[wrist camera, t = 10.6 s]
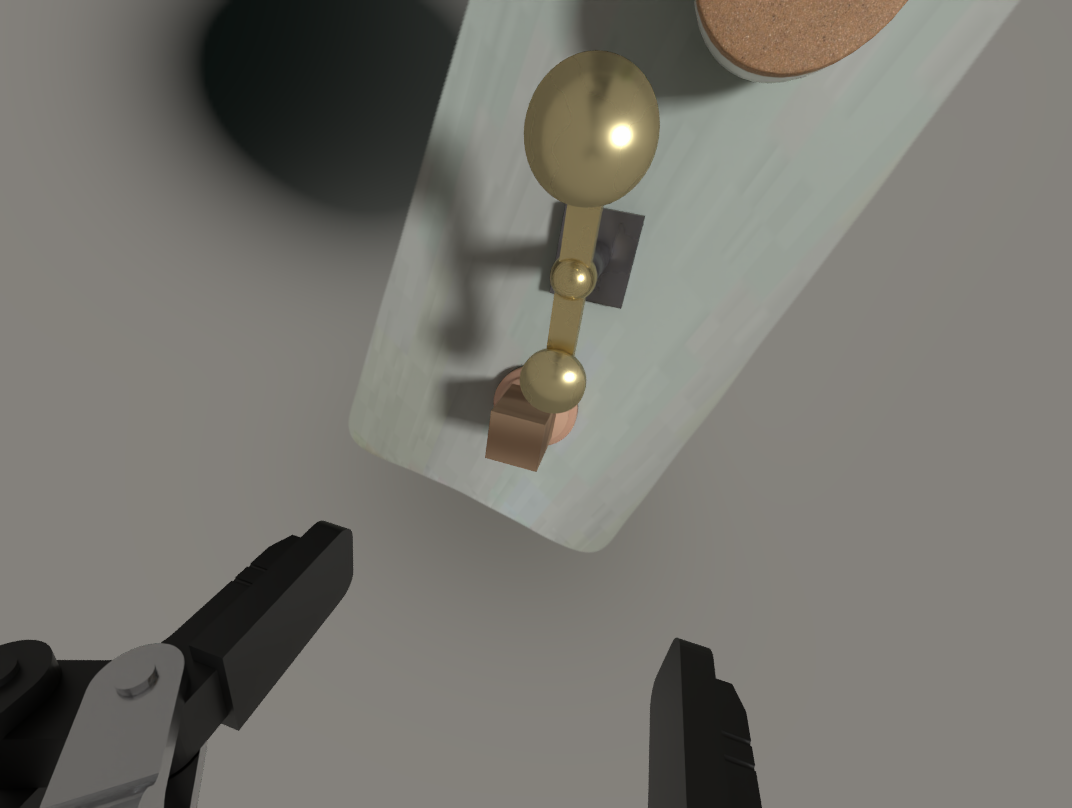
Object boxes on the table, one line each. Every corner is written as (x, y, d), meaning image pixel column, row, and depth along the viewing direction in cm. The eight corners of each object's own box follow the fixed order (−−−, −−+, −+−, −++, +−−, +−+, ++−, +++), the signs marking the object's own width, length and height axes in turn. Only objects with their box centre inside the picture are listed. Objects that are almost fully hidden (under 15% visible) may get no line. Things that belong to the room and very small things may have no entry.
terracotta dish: (502, 356, 43) (497, 360, 41) (586, 377, 41) (584, 383, 40) (492, 429, 46) (487, 436, 45) (568, 450, 45) (566, 458, 44)
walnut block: (512, 383, 42) (491, 411, 37) (560, 395, 41) (545, 425, 36) (506, 425, 44) (485, 457, 39) (551, 437, 43) (536, 471, 38)
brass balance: (587, 103, 33) (535, 40, 19) (670, 117, 32) (678, 61, 18) (541, 352, 41) (483, 428, 28) (605, 368, 41) (578, 455, 27)
